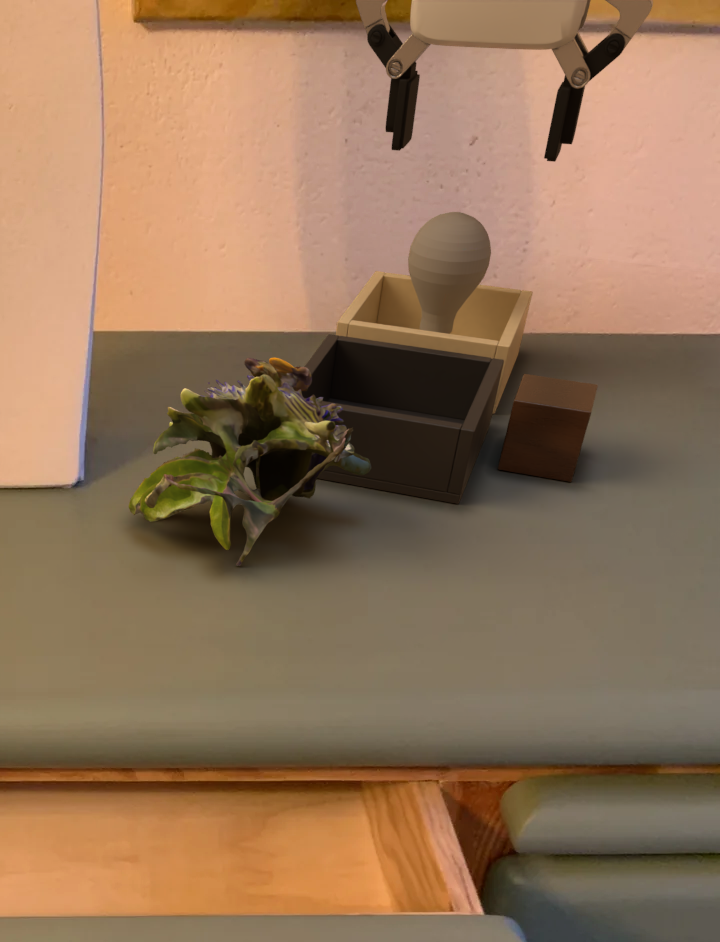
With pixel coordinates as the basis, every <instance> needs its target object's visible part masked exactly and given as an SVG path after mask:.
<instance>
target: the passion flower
mask: <svg viewBox="0 0 720 942" xmlns="http://www.w3.org/2000/svg"><path fill="white" fill-rule="evenodd" d="M243 364H244V366H245V368H246V369H247V370H248V371H249V373H250V374H251V375H246V378H247V380H248V382H249V383H248V386H247V387H246V386H245V385H244V383H242V381H240V380H239V379H238V380H237V381H236V382H237V383H238V385H239V386H240V387H238V386H237V385H235V384H233V385H232V386H231V385H230V384H229V382H227V381H224V384H223V383H221V382H220V381H219V379H215V382H216V384H217V385H218V386H219V388H220V389H219V388H218V387H216V386H214V387H213V386H210V387H207V388H206V389H207V390H203V392H204V393H206V394H207V395H208V396H207V395H206V396H205V395H202V394H198V393H196V392H194V391H192V390H190V389H189V388H185V387H184V388H183V389H182V390H181V392H180V396H179V397H180V401H181V404H182V406H183V407H184V408H185V410H186V411H188V412H183V411H180V410H178V409H175V408H173V407H172V406H167V413H166V414H167V416H168V417H169V418H170V419H171V421H170V422H169V424H168V428H167V429H165V430H163V431H162V432H161V434H159V436H158V438H157V439H156V440H155V442H154V444H153V449H152V454H153V455H157V454H158V452H162V451H164V450H166V448H171V449H172V448H173V447H175V446H176V447H177V446H179V445H187V443H188V442H196V441H197V442H199V441H200V442H207V443H209V445H210V448H211V454H210V452H209V451H206V450H204V449H200V448H197V447H195V448H194V450H191V451H189V452H186V453H184V454H183V455H182V456H178V455H177V456H176V457H173V458H171V459H169V460H167V461H164V462H163V463H162V464H160V465H159V466H158V467H157V468H156V469H155V470H154V471H153V472H151V473H150V475H149V476H148V477H143V480H142V482H141V483H140V484H139V486H137V488H136V490H135V491H134V493H133V495H132V497H131V498H130V499H129V503H128V511H129V512H130V513H131V514H132V515H133V516H135V515H137V514H141V515H142V516H143V517H144V519H145V520H146V521H147V522H150V523H153V522H157V521H162V520H165V519H168V518H170V517H171V516H174V515H175V514H179V513H181V512H183V511H186V510H189V509H191V508H192V509H193V508H195V507H196V506H198V505H205V504H206V503H207V502H210V501H211V505H210V509H209V518H210V526H211V529H212V533H213V535H214V537H215V539H216V540H217V542H218V543H219V544H220V545H221V546H222V548H223V549H224V550H226V551H229V550H230V549H231V546H232V542H231V517H232V512H233V510H234V509H235V507H236V506H237V505H241V506H242V508H243V517H242V521H241V523H242V527H243V528H244V530H245V533H246V541H245V544H244V548H243V551H242V554H241V555H240V556H239V558H238V560H237V561H236V563H235V566H239V567H240V566H242V564H243V562H244V560H245V559H246V558H247V556H248V555H249V553H250V552H251V550H252V549H253V546H254V544H255V543H256V541H257V539H258V538H259V537H260V535H261V534H262V532H263V531H264V529H266V526H267V525H268V524H269V523H270V522H272V521H273V520H275V519H276V518H278V517H279V516H280V514H281V511H282V510H283V507H284V506H285V504H286V503H287V501H288V500H289V499H290V498H291V497H294V498H295V497H296V498H306V499H311V498H312V497H313V496H314V495H315V492H316V485H317V482H316V481H317V479H318V478H317V477H318V476H319V475H320V474H321V472H322V471H324V470H325V469H326V468H328V467H329V466H333V465H334V466H338V467H340V468H342V469H344V470H346V471H348V472H351V473H353V474H357V475H365V474H367V473H368V472H369V471H370V470H371V463H370V461H369V459H368V458H365V457H362V456H360V455H359V454H357V453H355V452H354V450H355V449H354V447H353V445H351V444H350V443H349V441H350V439H351V432H352V431H353V429H352V428H350V429H348V430H347V428H346V426H345V425H335V424H336V423H343V420H342V419H341V418H339V417H338V415H337V414H338V413H340V412H341V411H342V409H343V408H342V407H341V406H338V407H337V405H336V404H334V403H332V404H329V405H327V406H322V407H321V402H322V401H323V397H319V398H316V397H315V395H314V394H313V395H312V396H311V397H309V398H307V399H306V400H305V399H304V398H303V396H302V392H301V391H306V390H308V387H309V386H310V384H311V383H312V376H311V373H310V371H309V369H308V368H305V367H304V366H293V365H292V364H291V363H289V362H288V361H286V360H285V359H281V358H280V357H270V358H269V360H268V362H267V361H266V360H260V359H256V358H252V357H247V358H246V359H245V360H244V362H243ZM207 384H208V385H210V382H207ZM246 468H248V469H249V470H250V472H251V473H252V477H253V481H254V486H255V489H252V488H251V487H250V486H249V484H248V483H247V481H246V477H245V469H246ZM235 492H239V493H242V494H245V495H246V496H248V497H249V498H250V499H247V500H246V499H243V498H241V497H239V496H238V495H237V494H236V493H235Z"/></svg>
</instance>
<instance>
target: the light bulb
mask: <svg viewBox="0 0 720 942" xmlns="http://www.w3.org/2000/svg"><path fill="white" fill-rule="evenodd" d="M491 246H492V245H491V240H490V237H489V233H488V231H487V230H486V227H485V225H483V223H482V222H481V221H479V219H477V218H476V217H474V216H472V215H469V214H467V213H464V212H461V211H450V212H445V213H440V214H438V215H436V216H434V217H432V218H430V219H429V220H427V221H426V222H425V223H424V224H423V225H422V226H421V227H420V228H419V230H418V231H417V232H416V234H415V235H414V238H413V240H412V242H411V244H410V247H409V253H408V256H407V258H408V259H407V264H408V265H407V266H408V275H409V276H410V277H411V281H412V283H413V286H414V289H415V291H416V294H417V297H418V300H419V303H420V306H421V309H422V318H421V323H420V330H425V331H432V332H439V333H446V334H450V333H451V332H452V328H453V323H454V319H455V316H456V314H457V312H458V310H459V309H460V308H461V306H462V305H463V304H464V302H465V301H466V300H467V299H468V297H469V296H470V295H471V294H472V293H473V291H474V290H475V289H476V288H477V286H478V285H481V284H480V283H481V282H482V281H483V280H484V278H485V276H486V274H487V271H488V269H489V267H490V261H491V257H492V247H491Z"/></svg>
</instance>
